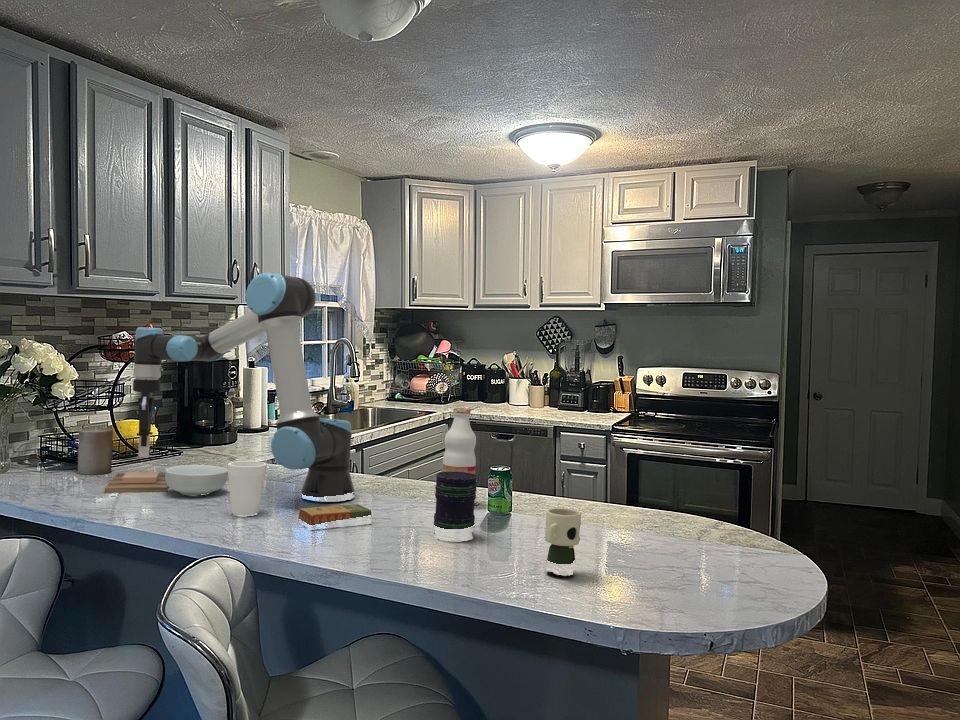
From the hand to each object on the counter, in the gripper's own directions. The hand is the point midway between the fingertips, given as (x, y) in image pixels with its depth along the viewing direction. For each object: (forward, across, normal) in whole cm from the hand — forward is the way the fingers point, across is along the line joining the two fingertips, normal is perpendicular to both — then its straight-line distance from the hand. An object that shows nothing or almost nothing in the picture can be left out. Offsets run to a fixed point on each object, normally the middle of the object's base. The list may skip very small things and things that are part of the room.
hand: (143, 456), depth 215 cm
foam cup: (+8, -44, -29) cm, 53 cm away
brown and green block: (+9, -56, -50) cm, 76 cm away
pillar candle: (+8, +18, +16) cm, 25 cm away
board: (+8, -2, 0) cm, 8 cm away
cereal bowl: (+8, -17, -16) cm, 25 cm away
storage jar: (+8, -72, -76) cm, 105 cm away
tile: (+6, +1, 0) cm, 6 cm away
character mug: (+8, -103, -90) cm, 137 cm away
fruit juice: (+8, -40, -87) cm, 96 cm away
